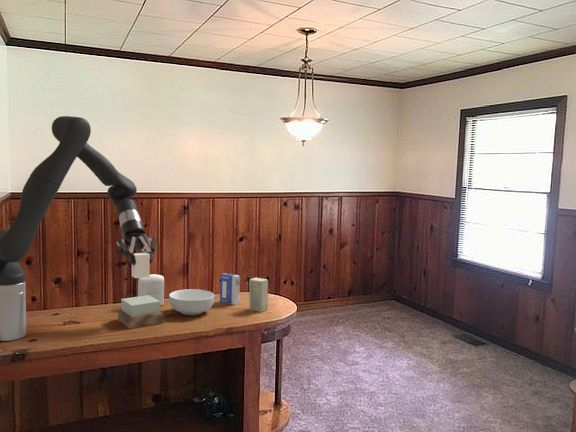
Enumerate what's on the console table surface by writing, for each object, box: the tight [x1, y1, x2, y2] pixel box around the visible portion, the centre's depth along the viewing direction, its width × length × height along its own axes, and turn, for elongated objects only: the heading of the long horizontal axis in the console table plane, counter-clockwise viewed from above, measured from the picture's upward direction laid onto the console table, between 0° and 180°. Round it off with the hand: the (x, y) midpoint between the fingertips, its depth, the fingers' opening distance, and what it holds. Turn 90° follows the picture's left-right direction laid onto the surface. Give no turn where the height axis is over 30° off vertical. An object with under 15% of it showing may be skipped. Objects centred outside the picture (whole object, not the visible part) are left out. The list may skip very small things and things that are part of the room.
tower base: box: [117, 308, 164, 329], centre depth 172 cm, size 12×12×4 cm
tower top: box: [120, 295, 161, 317], centre depth 172 cm, size 10×10×4 cm
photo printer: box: [137, 273, 165, 306], centre depth 192 cm, size 10×4×12 cm, turn 123°
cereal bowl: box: [168, 288, 215, 316], centre depth 185 cm, size 17×17×7 cm
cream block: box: [131, 252, 151, 279], centre depth 171 cm, size 5×4×8 cm
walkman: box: [219, 272, 241, 306], centre depth 200 cm, size 8×3×12 cm, turn 60°
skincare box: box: [248, 277, 269, 313], centre depth 191 cm, size 6×4×12 cm
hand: (142, 263), depth 169 cm, fingers closed on cream block, 5 cm apart
